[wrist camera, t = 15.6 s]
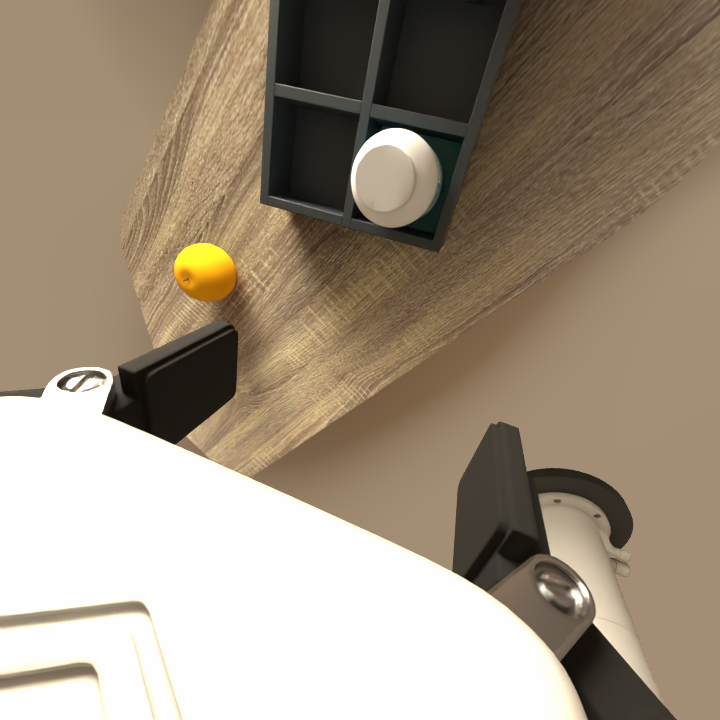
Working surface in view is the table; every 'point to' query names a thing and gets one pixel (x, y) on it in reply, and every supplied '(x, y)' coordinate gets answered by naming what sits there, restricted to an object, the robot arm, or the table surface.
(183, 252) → the apple
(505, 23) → the divided storage tray
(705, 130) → the table surface
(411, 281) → the table surface
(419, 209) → the pill bottle
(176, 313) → the table surface
